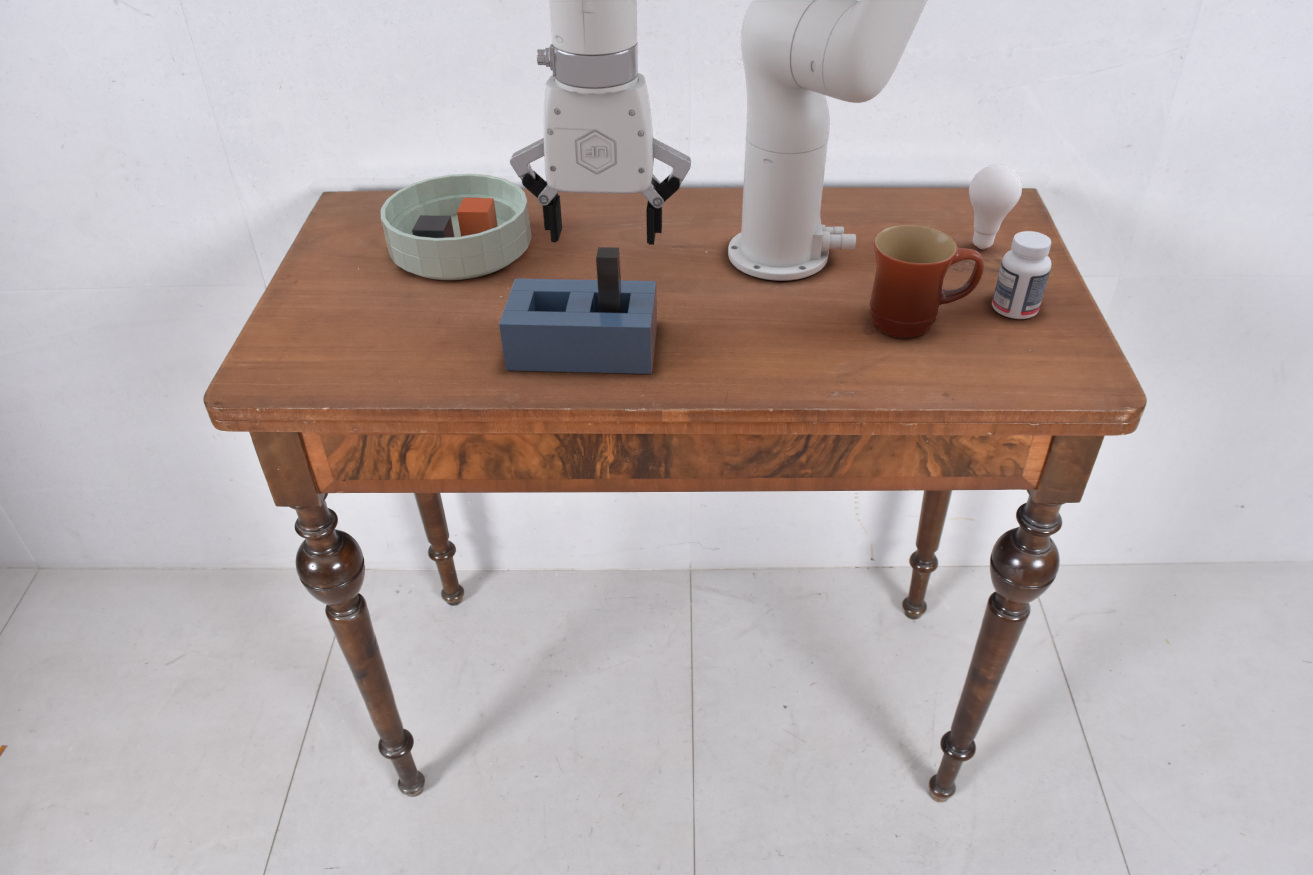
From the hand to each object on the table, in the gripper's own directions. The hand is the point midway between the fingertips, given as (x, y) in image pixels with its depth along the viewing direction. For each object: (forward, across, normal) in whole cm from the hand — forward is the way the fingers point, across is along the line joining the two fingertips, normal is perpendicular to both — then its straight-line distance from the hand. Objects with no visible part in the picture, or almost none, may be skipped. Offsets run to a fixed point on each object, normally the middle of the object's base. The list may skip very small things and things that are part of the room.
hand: (604, 237), depth 94 cm
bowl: (+14, -22, +22) cm, 34 cm away
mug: (+14, +34, +6) cm, 37 cm away
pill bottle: (+14, +46, +10) cm, 49 cm away
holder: (+14, -3, 0) cm, 14 cm away
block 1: (+13, -24, +20) cm, 34 cm away
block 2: (+13, -20, +25) cm, 34 cm away
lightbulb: (+13, +45, +24) cm, 53 cm away
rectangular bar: (+14, 0, 0) cm, 14 cm away
